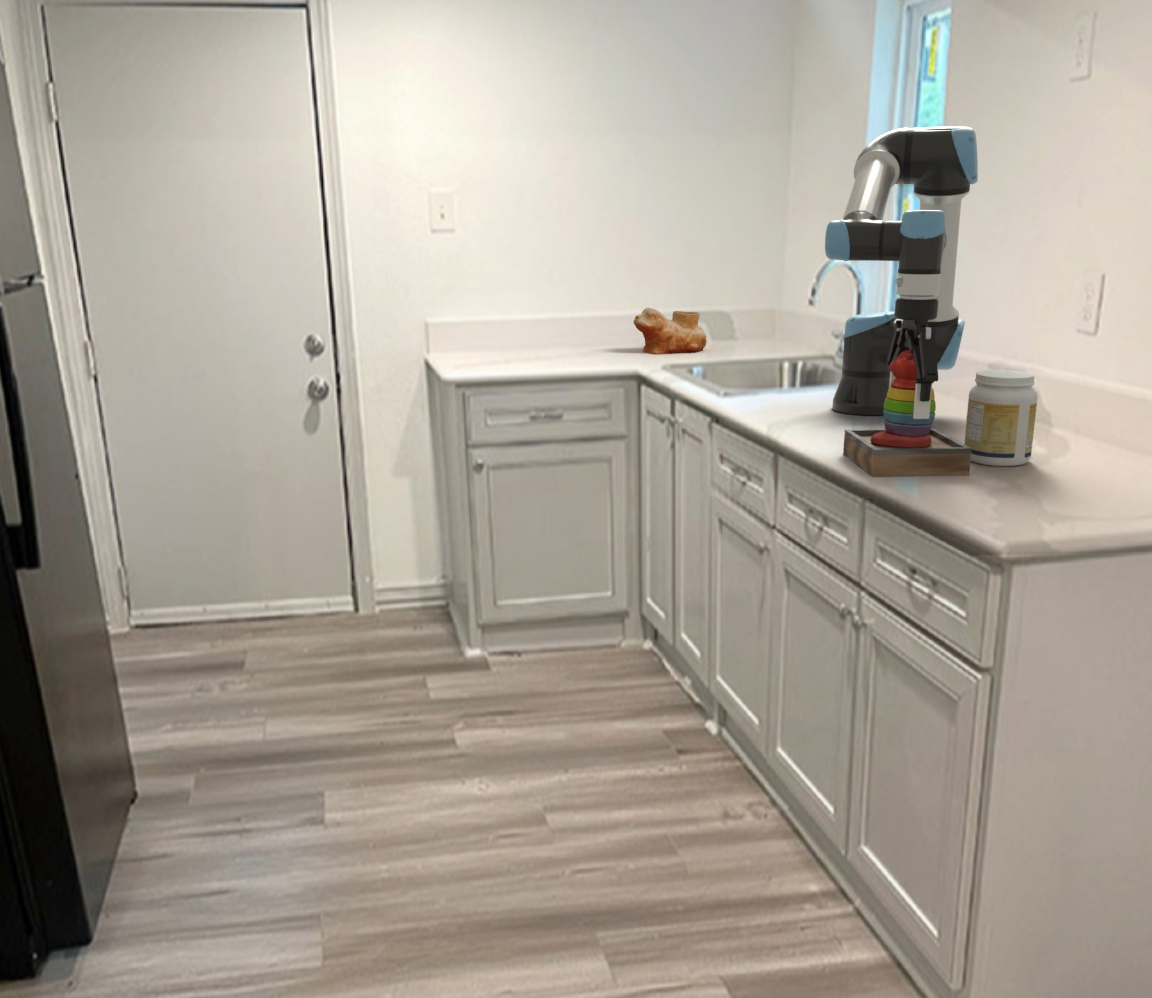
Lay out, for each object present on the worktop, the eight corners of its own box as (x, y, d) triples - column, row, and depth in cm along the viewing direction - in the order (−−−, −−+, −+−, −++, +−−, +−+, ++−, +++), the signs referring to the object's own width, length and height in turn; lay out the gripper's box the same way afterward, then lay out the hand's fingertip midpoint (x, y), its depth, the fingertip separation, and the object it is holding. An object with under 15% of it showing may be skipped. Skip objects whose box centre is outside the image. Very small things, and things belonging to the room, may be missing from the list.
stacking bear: (895, 435, 206) (902, 344, 202) (943, 442, 199) (952, 349, 195) (865, 442, 199) (873, 349, 195) (914, 451, 192) (923, 354, 188)
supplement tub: (999, 451, 210) (1008, 367, 206) (1044, 464, 200) (1055, 375, 195) (949, 456, 206) (957, 370, 202) (992, 470, 195) (1002, 379, 191)
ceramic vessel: (626, 350, 360) (627, 306, 356) (696, 347, 368) (697, 304, 364) (641, 356, 348) (641, 310, 344) (713, 352, 355) (714, 307, 351)
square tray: (843, 454, 208) (844, 429, 207) (931, 452, 209) (934, 428, 208) (872, 476, 191) (874, 449, 190) (969, 474, 192) (971, 448, 191)
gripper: (874, 292, 204) (867, 400, 209) (922, 303, 180) (912, 424, 185) (912, 291, 204) (904, 399, 210) (964, 303, 180) (953, 424, 186)
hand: (907, 411), depth 197 cm, fingers open, 13 cm apart
